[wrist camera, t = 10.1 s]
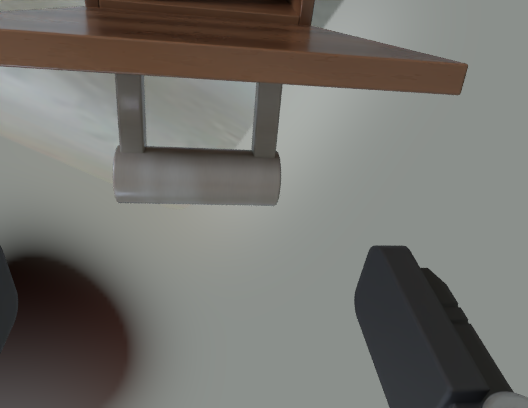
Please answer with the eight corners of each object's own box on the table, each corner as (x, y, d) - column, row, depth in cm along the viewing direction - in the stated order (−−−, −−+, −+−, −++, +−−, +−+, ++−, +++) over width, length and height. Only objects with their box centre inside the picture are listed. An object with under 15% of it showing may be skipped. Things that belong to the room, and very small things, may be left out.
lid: (-131, 18, 9) (-68, 232, 11) (469, 63, 11) (421, 236, 13) (83, 6, 24) (91, 95, 26) (312, 25, 26) (302, 107, 28)
